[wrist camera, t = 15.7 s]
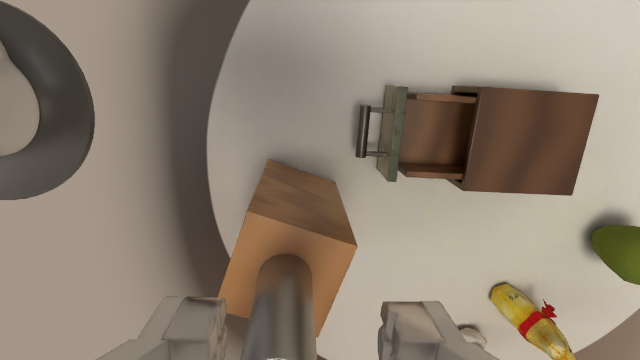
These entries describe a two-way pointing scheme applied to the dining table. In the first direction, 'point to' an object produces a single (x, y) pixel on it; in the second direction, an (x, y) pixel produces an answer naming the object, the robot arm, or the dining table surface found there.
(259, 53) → the dining table surface
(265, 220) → the stand
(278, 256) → the grey metal cylinder
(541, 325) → the chocolate bunny
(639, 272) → the apple
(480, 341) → the beige swirled lump
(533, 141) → the cabinet
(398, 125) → the drawer
